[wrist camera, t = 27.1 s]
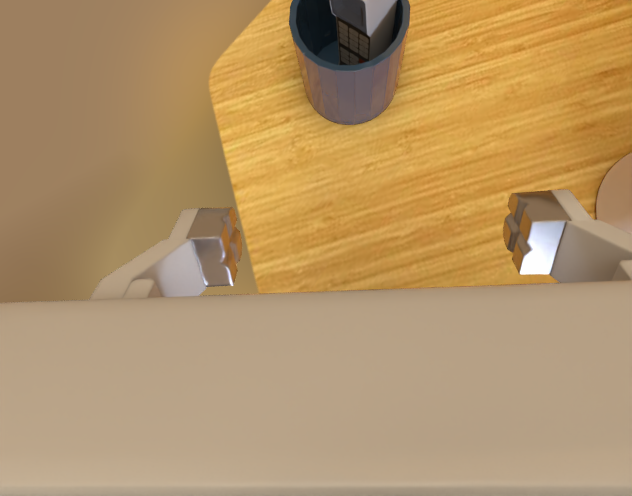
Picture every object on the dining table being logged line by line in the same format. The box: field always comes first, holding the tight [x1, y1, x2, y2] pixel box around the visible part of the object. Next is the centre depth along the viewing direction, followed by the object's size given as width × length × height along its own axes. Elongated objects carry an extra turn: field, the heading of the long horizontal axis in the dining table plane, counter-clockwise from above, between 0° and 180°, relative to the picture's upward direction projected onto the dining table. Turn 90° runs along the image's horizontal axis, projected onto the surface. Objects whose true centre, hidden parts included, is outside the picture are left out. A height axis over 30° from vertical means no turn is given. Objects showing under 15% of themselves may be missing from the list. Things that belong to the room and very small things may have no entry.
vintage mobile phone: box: [329, 0, 397, 65], centre depth 38 cm, size 4×5×25 cm
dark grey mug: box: [289, 0, 410, 125], centre depth 46 cm, size 14×10×12 cm
